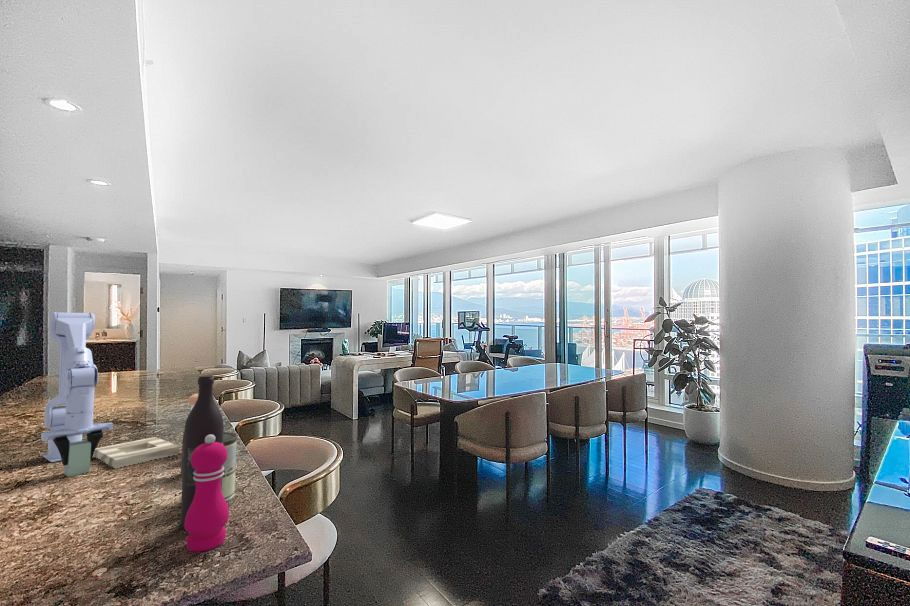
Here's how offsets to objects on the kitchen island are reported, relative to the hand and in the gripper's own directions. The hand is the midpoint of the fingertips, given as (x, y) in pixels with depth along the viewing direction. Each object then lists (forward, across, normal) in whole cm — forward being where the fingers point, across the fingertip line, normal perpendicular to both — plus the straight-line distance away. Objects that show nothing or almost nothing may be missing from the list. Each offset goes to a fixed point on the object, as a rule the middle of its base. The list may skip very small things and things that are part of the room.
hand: (77, 461), depth 113 cm
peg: (+3, 0, 0) cm, 3 cm away
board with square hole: (+3, +15, +4) cm, 16 cm away
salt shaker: (+3, +28, -7) cm, 29 cm away
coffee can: (+3, +13, -47) cm, 49 cm away
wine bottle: (+3, +6, -58) cm, 58 cm away
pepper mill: (+3, +3, -67) cm, 67 cm away
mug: (+3, +18, -27) cm, 33 cm away
